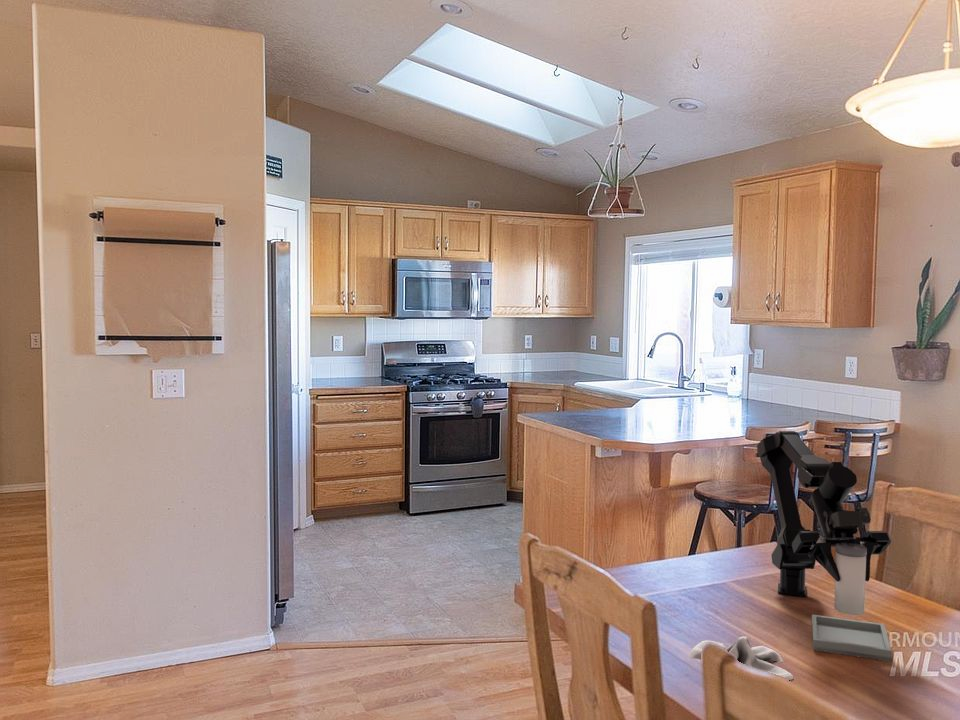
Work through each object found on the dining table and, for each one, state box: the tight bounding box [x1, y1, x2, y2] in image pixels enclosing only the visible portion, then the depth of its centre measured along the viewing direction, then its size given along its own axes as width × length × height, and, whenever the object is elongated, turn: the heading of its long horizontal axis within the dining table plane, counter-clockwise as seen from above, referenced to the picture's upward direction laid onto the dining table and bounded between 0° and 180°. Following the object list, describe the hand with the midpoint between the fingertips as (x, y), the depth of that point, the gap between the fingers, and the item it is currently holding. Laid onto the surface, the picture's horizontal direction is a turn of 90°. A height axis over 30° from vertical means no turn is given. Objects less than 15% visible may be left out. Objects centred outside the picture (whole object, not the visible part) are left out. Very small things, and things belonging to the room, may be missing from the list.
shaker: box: [833, 543, 867, 616], centre depth 159 cm, size 6×6×13 cm
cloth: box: [688, 635, 794, 682], centre depth 149 cm, size 22×19×6 cm
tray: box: [811, 614, 893, 663], centre depth 160 cm, size 14×14×2 cm
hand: (853, 580), depth 158 cm, fingers closed on shaker, 6 cm apart
